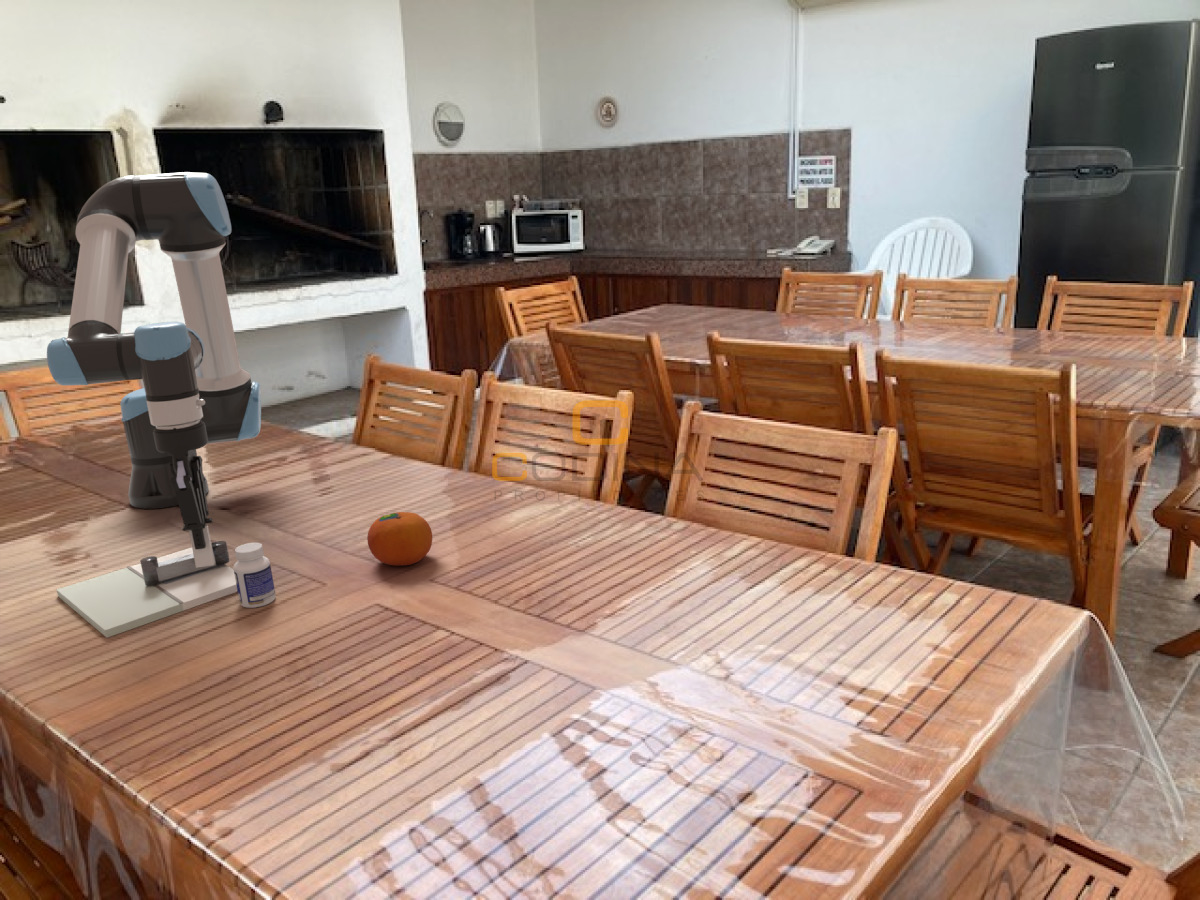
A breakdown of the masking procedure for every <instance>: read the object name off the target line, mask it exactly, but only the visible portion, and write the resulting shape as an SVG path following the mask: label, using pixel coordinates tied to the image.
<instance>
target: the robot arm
mask: <svg viewBox="0 0 1200 900" xmlns="http://www.w3.org/2000/svg"><path fill="white" fill-rule="evenodd" d="M231 233H232V223H231V218H230V214H229V210H228V206H227V203H226V200H225V197H224V194H223V192H222V189H221V186H220V185H219V183H218V181H217V179H216V178H215V177H214V176H213V175H211V174H210V173H207V172H190V171H184V172H183V171H182V172H169V173H157V174H156V173H154V174H142V175H135V174H132V175H130V174H129V175H123V176H120V177H117V178H115V179H113V180H110V181H108V182H106V183H105V184H103V185H102V186H101V187H99V188H98V189H97V190H96V191H95V192H94V193H93V194H92V195H90V197H89V198H88V199H87V200H86V202H85V203H84V205H83V206H82V207H81V210H80V212H79V214H78V216H77V220H76V225H75V238H76V240H77V242H78V244H79V252H78V258H77V259H78V260H77V266H76V272H75V273H76V275H75V281H74V286H73V287H74V288H73V296H72V302H71V310H70V316H69V324H68V331H67V337H65V336H61V338H55V339H52V340H50V342H49V343H48V344H47V348H46V360H47V361H46V362H47V366H48V370H49V372H50V375H51V377H52V379H53V380H54V381H55V383H56V384H58V385H60V386H65V387H66V386H89V385H95V384H104V383H113V382H123V381H135V380H137V381H138V380H142V383H143V388H139V389H136V390H133V391H131V392H129V393H128V394H126V395H125V396H123V397H122V399H121V400H120V411H121V412H120V413H121V422H122V423H123V429H124V433H125V438H126V442H127V443H126V444H127V447H128V452H129V457H130V462H131V473H130V479H129V486H128V493H127V494H128V499H129V504H130V506H132V507H134V508H137V509H144V510H145V509H147V510H148V509H149V510H150V509H151V510H152V509H163V508H170V507H176V506H178V508H179V511H180V515H181V518H182V523H183V527H182V531H183V532H187V531H188V534H189V538H190V545H191V547H192V550H193V555H194V560H195V565H196V568H198V567H205V566H212V565H214V563H215V560H214V555H213V550H212V544H211V543H212V540H211V534H210V529H209V524H213V518H212V517H209V515H210V512H209V510H208V509H209V508H208V501H207V494H208V493H209V490H210V489H209V484H208V479H207V477H206V476H205V474H204V471H203V458H202V456H201V455H198V453H197V450H198V449H201V448H203V447H204V446H205V447H206V445H207V444H217V443H226V442H239V441H241V440H242V441H243V440H249V439H254V438H256V437H257V436H259V434H260V431H261V426H262V393H261V384H260V383H259V382H257V381H252V379H251V374H250V373H249V372H248V371H247V370H245V369H244V368H242V366H241V363H240V357H239V351H238V347H237V346H238V345H237V340H236V335H235V331H234V327H233V325H234V324H233V320H232V314H231V310H230V303H229V299H228V298H229V297H228V294H227V289H226V283H225V279H224V271H223V267H222V262H221V257H220V252H221V251H222V249H223V248H224V247H225V245H226V243H227V242H226V237H227V236H229V235H231ZM153 240H158V243H159V248H160V251H161V252H163V253H164V254H166V255H167V256H168V257H170V259H171V262H172V267H173V272H174V277H175V281H176V285H177V286H176V287H177V291H178V294H179V295H178V296H179V301H180V306H181V310H182V313H183V314H182V315H183V318H184V322H181V321H160V322H153V323H147V324H142V325H140V326H138V327H136V328H135V329H134V331H133V332H126V333H125V332H123V333H121V332H122V324H123V323H122V322H123V314H124V313H123V312H124V302H125V292H126V282H127V281H126V279H127V271H128V259H129V253H131V252H132V251H133V250H134V249H135V246H136V242H138V241H153ZM208 517H209V518H208Z"/></svg>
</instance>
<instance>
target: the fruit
mask: <svg viewBox="0 0 1200 900" xmlns="http://www.w3.org/2000/svg"><path fill="white" fill-rule="evenodd" d="M366 539H367V544H368V545H367V546H368V548H369V551H370V553H371V554H372V555H373V557H374V558H376V560H378V561H379V562H380V563H383V564H386V565H389V566H396V567H398V566H399V567H400V566H410V565H413V564H416V563H418V562H419V561H421V560H422V559H424V558H425V557H426V555H428V553H429V551H431V547H432V545H433V531H432V528H431V526H430V524H429V522H428V521H427V520H426V519H425V518H424V517H422V515H421V516H420V515H419V514H418V513H415V512H409V511H395V512H392V513H389V514H385V515H382V516H380V517H378V518H377V519H376V520H375V521H373V523H371V525H370V527H369V529H368V531H367V537H366Z"/></svg>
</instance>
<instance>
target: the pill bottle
mask: <svg viewBox="0 0 1200 900" xmlns="http://www.w3.org/2000/svg"><path fill="white" fill-rule="evenodd" d="M264 553H265V552H264V547H263V544H262V543H260V542H248V543H243V544H241V545H239V546H237V547H235V549H234V554H235V559H236V562H234V564H233V569H234V574H235V580H236V585H237V590H238V591H237V596H238V601H239V605H241V606H242V607H244V608H248V609H249V608H252V609H254V608H259V607H264V606H266V605H268V604H271V603H272V602H273V601H274V600H275V599H276V596H277V595H276V588H275V582H274V579H273V572H272V565H271V562H270V559H269V558H268V557H267V556H264V555H265V554H264Z"/></svg>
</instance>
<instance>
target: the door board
mask: <svg viewBox="0 0 1200 900" xmlns="http://www.w3.org/2000/svg"><path fill="white" fill-rule="evenodd" d="M192 553H193V550H192V546H191V547H188V548H185V549H182V550H178V551H175V552H173V553H169V554H166V555H163V556H160V557H159V556H158V557H157V561H158V563H159V562H162V561H166V560H170V559H173V558H177V557H181V556H185V555H188V554H192ZM235 593H238V590H237V585H236V580H235V574H234V568H233V567H230V566H228V565H227V564H223V565H218V566H213V567H209V568H206V569H202V570H199V571H195V572H192V573H188V574H184V575H181V576H177V577H174V578H170V579H166V580H163V581H161V583H159V584H157V585H153V586H146V585H145V581H144V577H143V572H142V567H141V562H140V563H137V564H134V565H131V566H130V565H129V566H126V567H124V568H121V569H118V570H115V571H111V572H108V573H105V574H101V575H99V576H96V577H92V578H90V579H86V580H82V581H79V582H76V583H73V584H69V585H66V586H63V587H60V588H56V594H57V597H58V598H60V600H61V601H63V603H65V604H66V605H68V606H69V607H70V608H71V609H72V610H74V611H75V612H76V613H77V614H78V615H79V616H80V617H82V618H83V619H84V620H85V621H86V622H88V623H89V624H90V625H91V626H93V628H94V629H96V630H97V632H99V633H100V634H102V635H103V636H104V637H105V638H110V637H113V636H115V635H119V634H121V633H124V632H128V631H130V630H133V629H135V628H139V627H141V626H144V625H147V624H150V623H152V622H155V621H159V620H161V619H164V618H166V617H170V616H172V615H175V614H178V613H181V612H183V611H187V610H189V609H192V608H195V607H197V606H200V605H203V604H206V603H209V602H211V601H215V600H217V599H220V598H223V597H226V596H228V595H231V594H235Z"/></svg>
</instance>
